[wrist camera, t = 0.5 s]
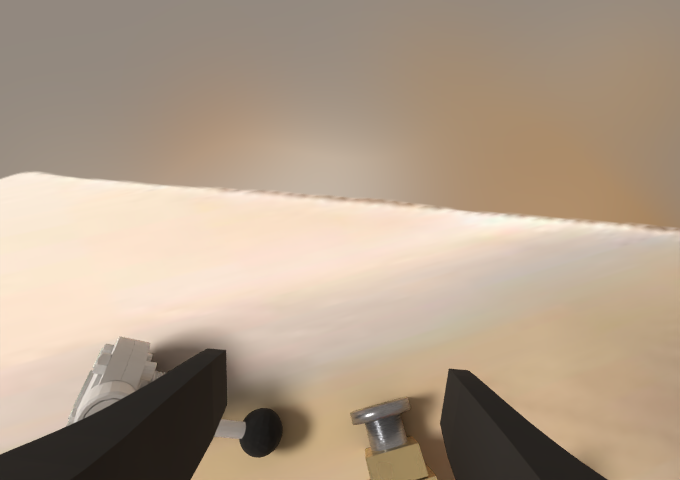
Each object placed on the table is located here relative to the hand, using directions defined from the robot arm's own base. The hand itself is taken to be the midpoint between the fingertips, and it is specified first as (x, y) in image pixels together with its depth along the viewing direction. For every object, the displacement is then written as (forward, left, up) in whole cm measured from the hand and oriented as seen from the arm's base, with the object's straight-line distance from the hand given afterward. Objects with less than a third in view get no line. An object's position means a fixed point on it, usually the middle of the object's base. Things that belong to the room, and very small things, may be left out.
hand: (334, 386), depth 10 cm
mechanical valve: (+3, +18, -27) cm, 32 cm away
